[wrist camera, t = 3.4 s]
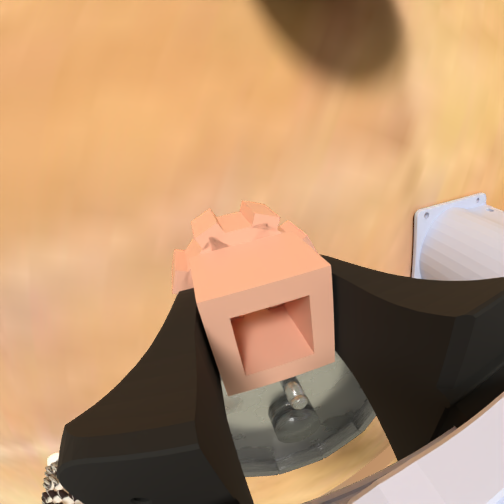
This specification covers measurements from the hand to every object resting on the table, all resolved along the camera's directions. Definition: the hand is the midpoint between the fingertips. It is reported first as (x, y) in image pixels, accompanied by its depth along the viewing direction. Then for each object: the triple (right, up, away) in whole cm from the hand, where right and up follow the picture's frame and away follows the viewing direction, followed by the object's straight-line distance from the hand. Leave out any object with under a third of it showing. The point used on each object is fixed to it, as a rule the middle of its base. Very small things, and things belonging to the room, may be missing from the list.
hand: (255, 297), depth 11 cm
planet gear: (-1, +1, +2) cm, 3 cm away
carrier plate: (+3, -11, +14) cm, 18 cm away
